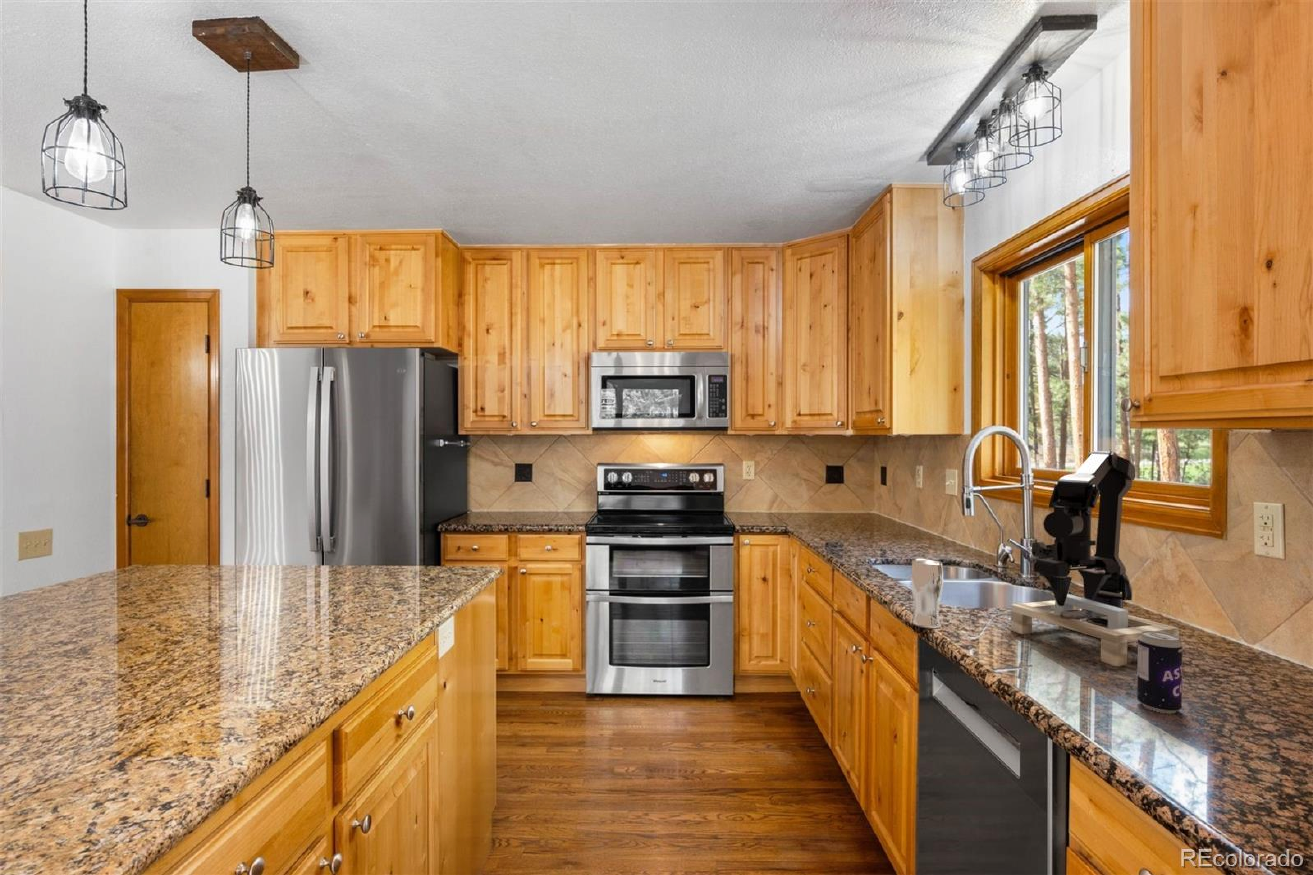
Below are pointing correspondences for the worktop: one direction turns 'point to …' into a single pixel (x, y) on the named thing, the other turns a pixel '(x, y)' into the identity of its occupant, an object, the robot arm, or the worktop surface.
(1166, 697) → the beverage can
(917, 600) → the beer glass
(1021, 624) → the shelf
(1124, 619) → the long white beam
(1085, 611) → the rod
